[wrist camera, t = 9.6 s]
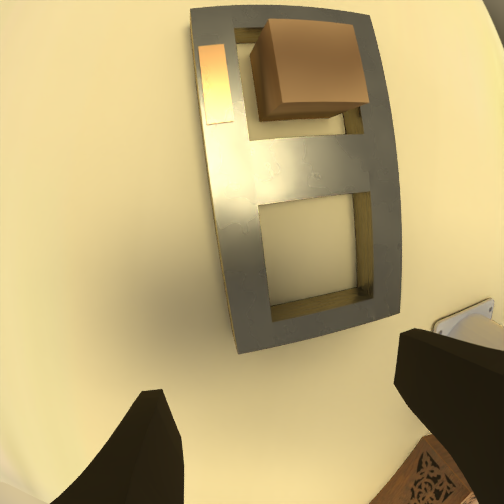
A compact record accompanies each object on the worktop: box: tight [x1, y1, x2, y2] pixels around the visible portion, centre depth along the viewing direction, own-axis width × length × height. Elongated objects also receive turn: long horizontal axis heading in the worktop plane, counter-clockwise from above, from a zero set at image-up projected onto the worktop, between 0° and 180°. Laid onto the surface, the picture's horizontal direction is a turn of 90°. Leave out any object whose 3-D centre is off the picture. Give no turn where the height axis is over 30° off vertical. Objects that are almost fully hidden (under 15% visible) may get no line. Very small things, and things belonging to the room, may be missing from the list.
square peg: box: [250, 19, 369, 122], centre depth 13 cm, size 4×4×4 cm
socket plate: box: [190, 5, 402, 354], centre depth 15 cm, size 18×10×2 cm, turn 8°
